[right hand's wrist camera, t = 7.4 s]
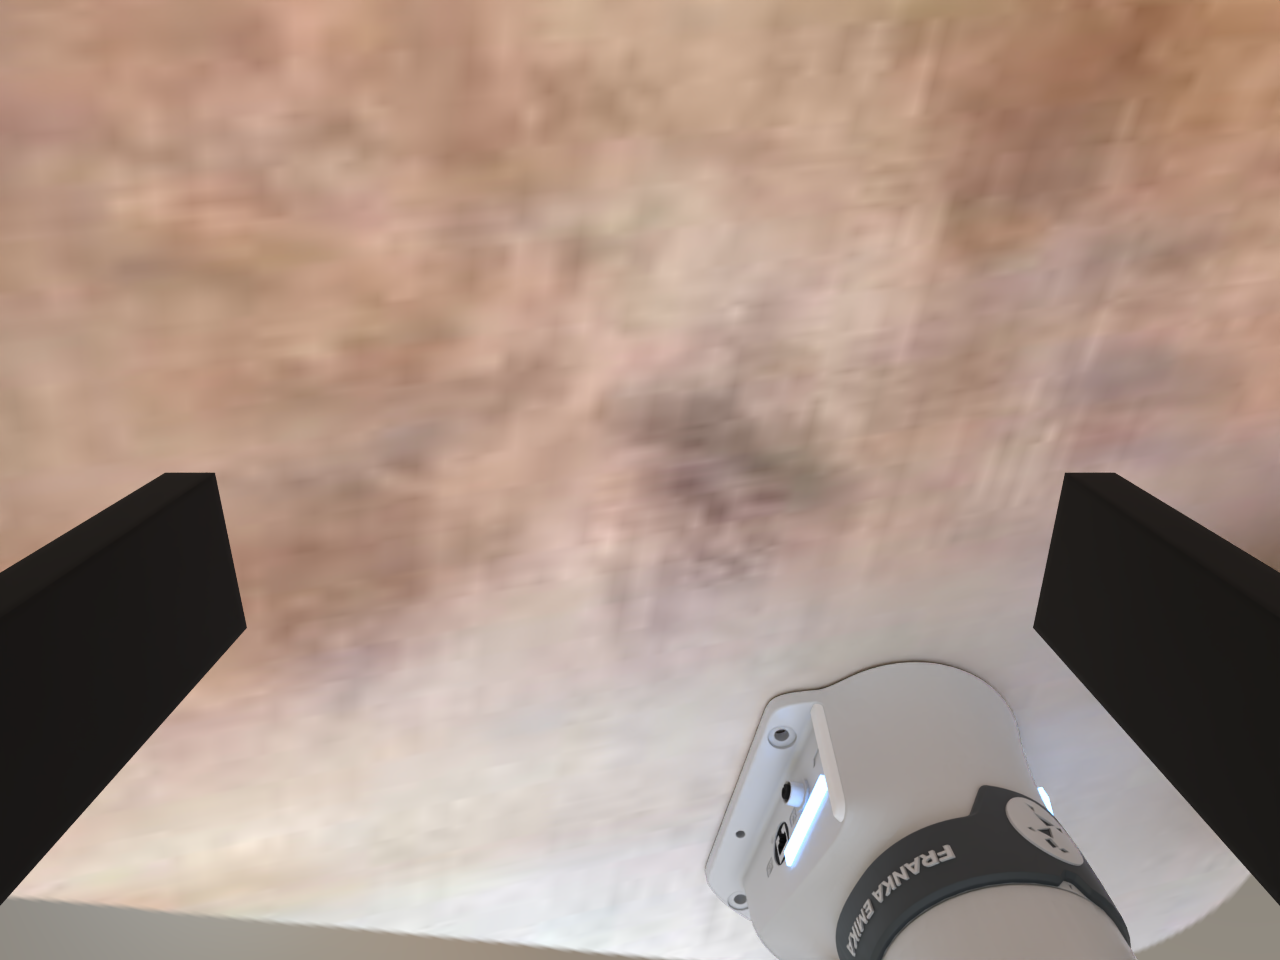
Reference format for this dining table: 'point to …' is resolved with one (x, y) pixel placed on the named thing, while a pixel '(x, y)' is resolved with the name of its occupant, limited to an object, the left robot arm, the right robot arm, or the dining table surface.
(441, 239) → the dining table surface
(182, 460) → the dining table surface
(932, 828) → the left robot arm
